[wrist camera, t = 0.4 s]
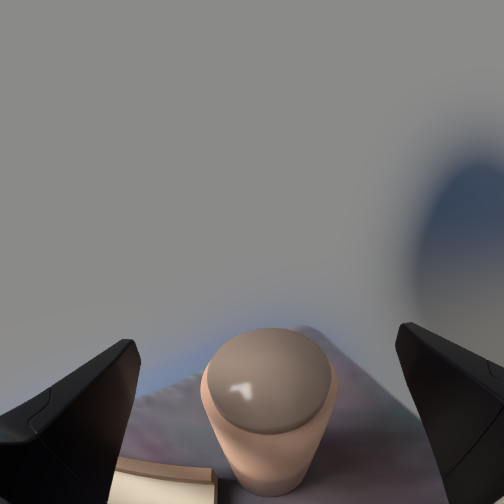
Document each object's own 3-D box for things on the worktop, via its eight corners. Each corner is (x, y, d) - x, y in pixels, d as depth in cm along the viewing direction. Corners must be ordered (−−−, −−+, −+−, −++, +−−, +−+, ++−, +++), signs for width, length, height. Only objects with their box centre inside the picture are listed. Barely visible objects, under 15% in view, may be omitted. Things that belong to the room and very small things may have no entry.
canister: (310, 493, 15) (355, 426, 8) (233, 497, 15) (189, 436, 8) (303, 433, 20) (326, 317, 13) (234, 437, 20) (204, 324, 13)
